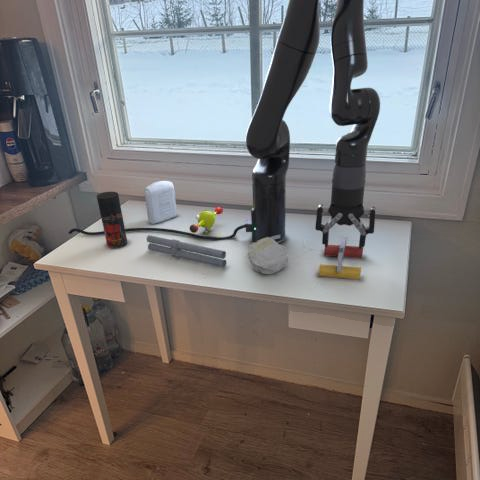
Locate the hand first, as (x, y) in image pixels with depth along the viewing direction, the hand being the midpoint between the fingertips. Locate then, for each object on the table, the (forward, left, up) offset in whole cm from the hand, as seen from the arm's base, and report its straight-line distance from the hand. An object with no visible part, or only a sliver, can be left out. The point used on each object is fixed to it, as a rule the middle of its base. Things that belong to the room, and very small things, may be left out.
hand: (343, 246), depth 119 cm
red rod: (0, +6, -6) cm, 8 cm away
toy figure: (-42, +16, -6) cm, 45 cm away
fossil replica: (-18, -5, -6) cm, 20 cm away
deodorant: (-66, +3, -6) cm, 66 cm away
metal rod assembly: (-42, -3, -6) cm, 43 cm away
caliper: (0, 0, -3) cm, 3 cm away
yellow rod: (0, -6, -6) cm, 8 cm away
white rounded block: (-60, +24, -6) cm, 65 cm away
